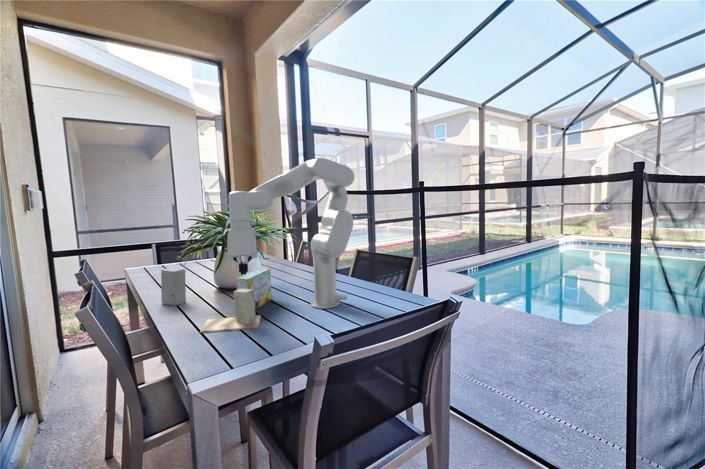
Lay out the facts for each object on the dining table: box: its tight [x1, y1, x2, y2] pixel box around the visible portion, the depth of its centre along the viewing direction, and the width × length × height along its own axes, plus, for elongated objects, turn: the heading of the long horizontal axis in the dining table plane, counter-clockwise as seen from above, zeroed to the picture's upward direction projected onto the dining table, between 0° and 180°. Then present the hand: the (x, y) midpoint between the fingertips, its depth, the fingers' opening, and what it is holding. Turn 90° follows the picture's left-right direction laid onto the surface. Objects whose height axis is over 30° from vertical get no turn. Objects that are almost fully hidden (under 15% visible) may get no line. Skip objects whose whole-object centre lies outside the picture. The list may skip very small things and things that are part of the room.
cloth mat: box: [199, 314, 262, 334], centre depth 129 cm, size 20×12×1 cm, turn 101°
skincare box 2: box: [233, 289, 256, 324], centre depth 129 cm, size 6×4×12 cm
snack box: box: [236, 267, 272, 311], centre depth 149 cm, size 21×6×15 cm, turn 168°
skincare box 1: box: [160, 267, 187, 306], centre depth 156 cm, size 8×7×16 cm
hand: (243, 273), depth 128 cm, fingers closed
